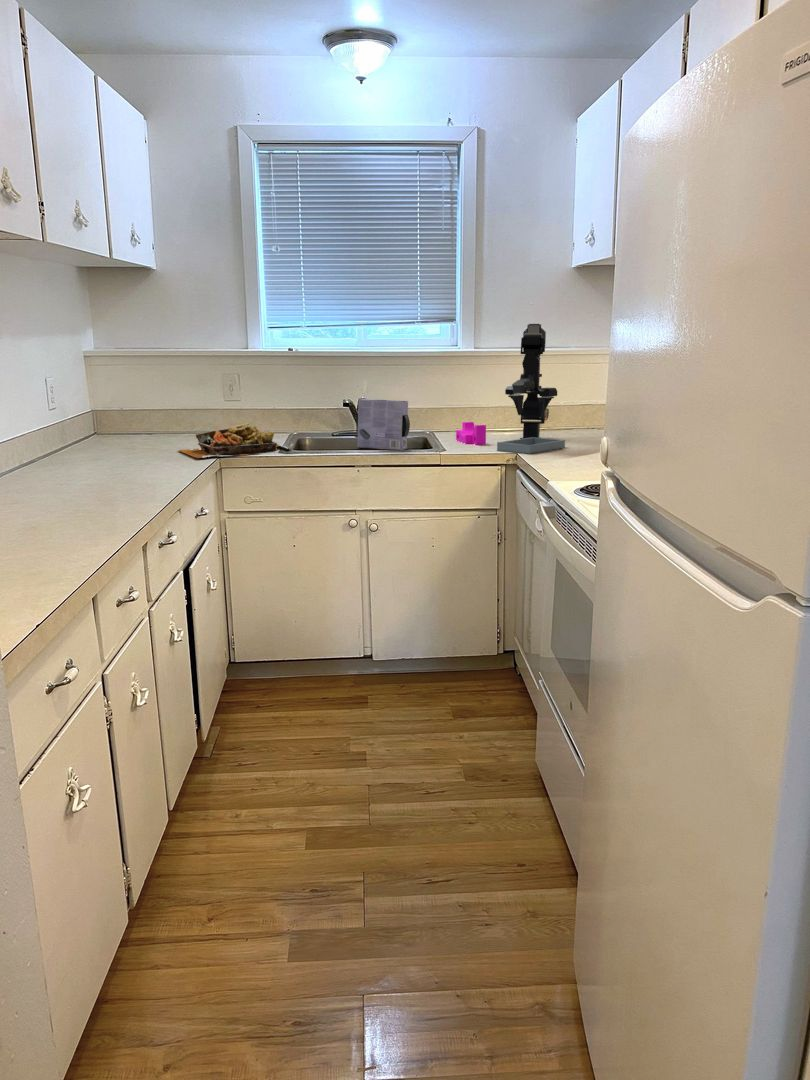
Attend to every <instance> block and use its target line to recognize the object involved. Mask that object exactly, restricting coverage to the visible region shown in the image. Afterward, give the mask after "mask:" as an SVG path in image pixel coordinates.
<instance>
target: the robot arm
mask: <svg viewBox="0 0 810 1080" xmlns="http://www.w3.org/2000/svg"><path fill="white" fill-rule="evenodd" d="M546 335H547V333H546V330H544V329H543V328H542V324H540V323H528V324H527V328H526V329H525V330H523V332H522V337H520V338H521V339H520V340H521V341H520V355H524V357H523V359H522V362H521V363H522V369H523V370H522V371H523V373H521V374H520V377H519V379H517V380H516V381H515V382H513V383H512V384H511V386H510V385H509V386H506V388H505V390H504V394H505V395H507V396H508V398H510V399H511V400H512V401H513V403H514V406H515V408H516V412H517V415H518V416H520V424H523V428H522V437H519V439H524V438H531V437H535V438H540V433H541V431H540V429H541V428H540V427H541V425H544V424H545V422H546V421H545V417H546V415H545V414H546V410H547V408H548V406H549V404H550V402H552V399H555V397H557V396H558V390H557V388H556V387H547V386H546V387H542V385H540V381H541V380H540V379H541V378H542V377H543V374H542V373H541V355H543V354H544V353H545V351H546V339H547V338H546V337H547V336H546ZM524 394H526V395H527V396H526V397H525V395H524ZM524 397H525V398H524Z"/></svg>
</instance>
